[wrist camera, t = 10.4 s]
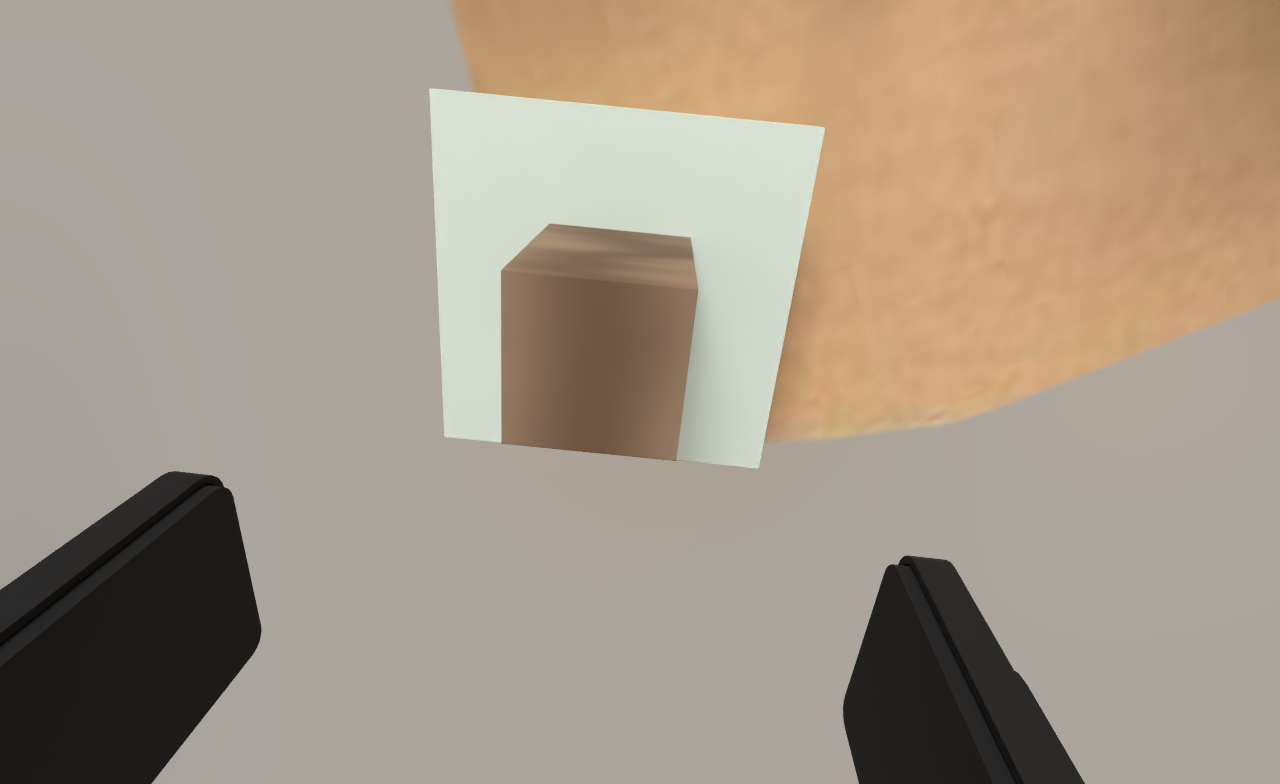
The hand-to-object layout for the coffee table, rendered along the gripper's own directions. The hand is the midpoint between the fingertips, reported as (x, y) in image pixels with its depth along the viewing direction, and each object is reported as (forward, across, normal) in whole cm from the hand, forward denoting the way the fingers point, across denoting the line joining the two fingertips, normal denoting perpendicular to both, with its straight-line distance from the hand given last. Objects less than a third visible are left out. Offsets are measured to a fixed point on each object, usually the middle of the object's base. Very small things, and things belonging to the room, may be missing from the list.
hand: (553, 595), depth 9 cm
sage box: (+22, +1, 0) cm, 22 cm away
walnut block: (+16, +1, 0) cm, 16 cm away
